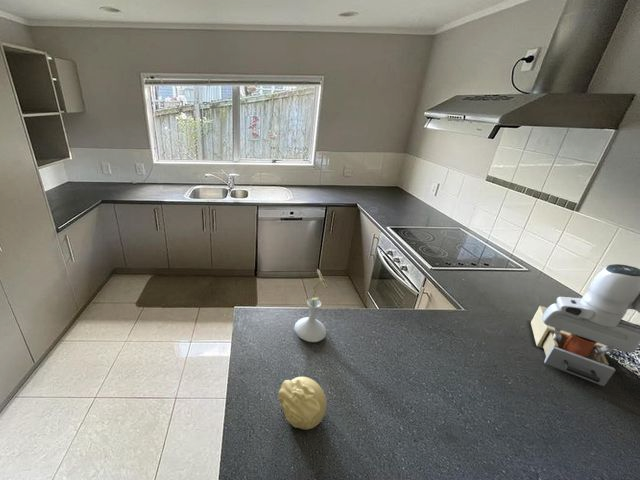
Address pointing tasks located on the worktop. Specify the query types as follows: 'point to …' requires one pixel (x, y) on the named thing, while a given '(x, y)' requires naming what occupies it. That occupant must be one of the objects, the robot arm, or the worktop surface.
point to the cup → (579, 345)
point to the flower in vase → (312, 319)
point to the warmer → (546, 329)
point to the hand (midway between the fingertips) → (576, 346)
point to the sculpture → (302, 402)
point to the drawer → (576, 361)
